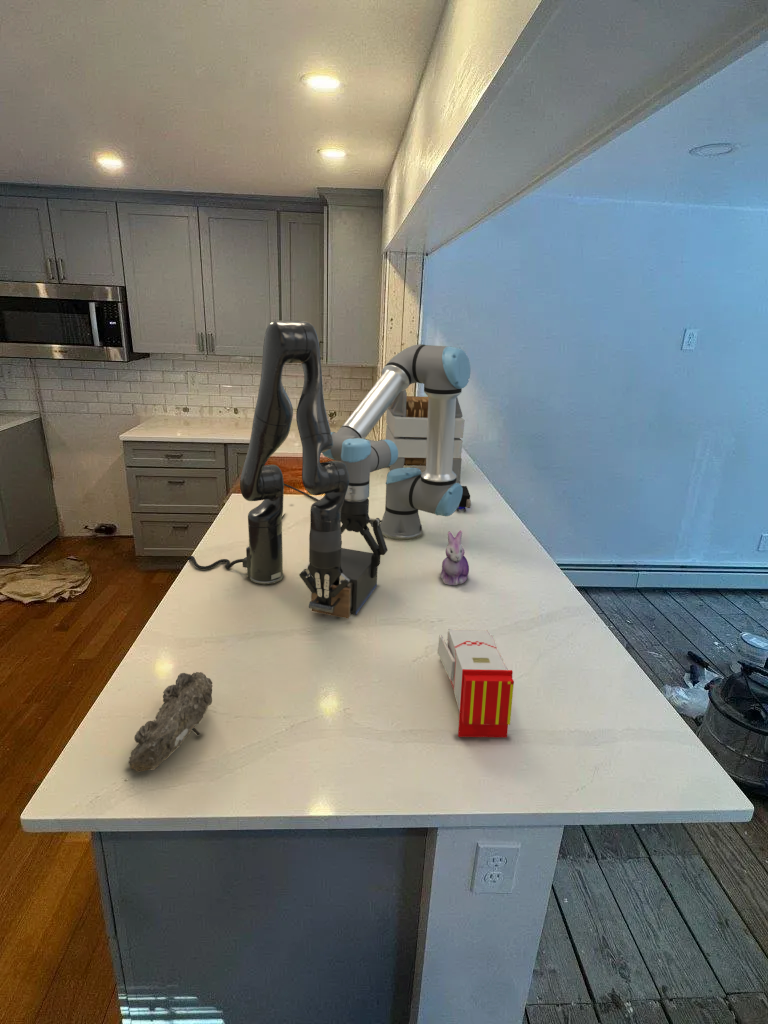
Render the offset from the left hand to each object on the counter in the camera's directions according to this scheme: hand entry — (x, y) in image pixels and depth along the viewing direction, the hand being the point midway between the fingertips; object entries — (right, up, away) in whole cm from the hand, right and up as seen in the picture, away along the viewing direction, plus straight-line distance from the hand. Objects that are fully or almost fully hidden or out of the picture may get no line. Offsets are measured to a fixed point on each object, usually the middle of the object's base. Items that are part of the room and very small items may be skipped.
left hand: (324, 608), depth 139 cm
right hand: (+6, +7, +18) cm, 20 cm away
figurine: (+35, +4, +28) cm, 46 cm away
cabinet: (+5, +1, +16) cm, 17 cm away
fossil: (-23, -17, -36) cm, 45 cm away
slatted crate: (+32, +43, +136) cm, 146 cm away
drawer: (+2, -1, +9) cm, 9 cm away
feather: (-23, +22, +71) cm, 78 cm away
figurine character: (+45, +26, +90) cm, 104 cm away
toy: (+33, -14, -21) cm, 41 cm away
